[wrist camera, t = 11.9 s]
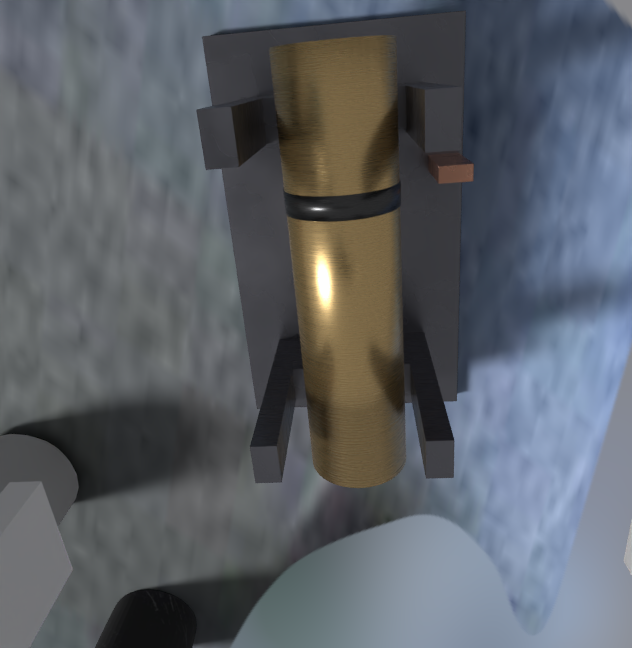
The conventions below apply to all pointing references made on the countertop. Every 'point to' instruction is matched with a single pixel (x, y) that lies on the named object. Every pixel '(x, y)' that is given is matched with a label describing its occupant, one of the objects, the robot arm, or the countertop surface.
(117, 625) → the travel mug
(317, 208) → the tube
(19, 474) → the can
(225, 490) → the countertop surface
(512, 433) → the countertop surface
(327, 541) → the countertop surface
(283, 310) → the dark grey pronged rack
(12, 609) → the robot arm
